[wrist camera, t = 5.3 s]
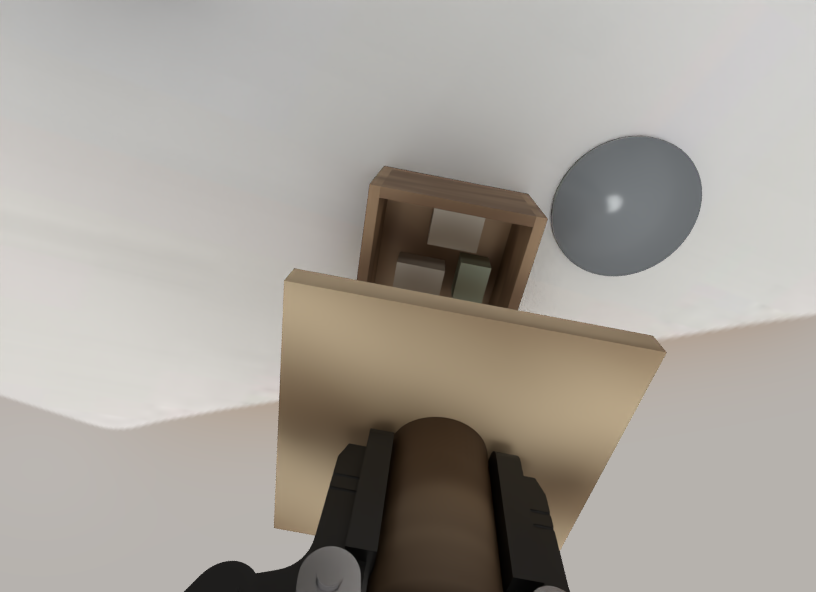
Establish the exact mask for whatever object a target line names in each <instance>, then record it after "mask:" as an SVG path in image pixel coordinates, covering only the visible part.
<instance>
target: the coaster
mask: <svg viewBox="0 0 816 592" xmlns="http://www.w3.org/2000/svg"><path fill="white" fill-rule="evenodd" d="M701 201H702V186H701V180H700V176H699V173H698V171H697V169H696V167H695V165H694V163H693V162H692V160H691V159H690V158H689V156H688V155H687V154H686V153H684V152H683V151H682V150H681V149H680V148H678V147H677V146H675V145H673V144H671V143H669V142H667V141H664V140H660V139H657V138H653V137H646V136H629V137H622V138H618V139H615V140H611V141H609V142H606V143H604V144H601V145H599V146H598V147H596V148H594V149H592V150H591V151H589V152H588V153H587V154H585V155H584V156H583V157H581V158H580V159H579V160H578V161H577V162H576V163H575V164H574V165H573V166H572V167H571V168H570V169H569V171H568V172H567V173H566V175H565V176H564V178H563V179H562V181H561V183H560V185H559V187H558V189H557V191H556V194H555V197H554V200H553V204H552V212H551V223H552V229H553V233H554V236H555V239H556V241H557V243H558V245H559V247H560V248H561V250H562V251H563V253H564V254H565V255H566V256H567V257H568V258H569V259H570V261H572V262H573V263H574V264H575V265H577V266H578V267H580V268H582V269H584V270H586V271H588V272H591V273H594V274H598V275H604V276H623V275H629V274H634V273H637V272H641V271H644V270H646V269H648V268H650V267H653V266H654V265H656V264H658V263H660V262H661V261H663V260H664V259H666V258H667V257H668V256H670V255H671V254H672V253H673V252H674V251H675V250H676V249H677V248H678V247H679V246H680V245H681V244H682V243H683V242H684V240H685V239H686V238H687V236H688V235H689V234H690V232H691V230H692V228H693V227H694V225H695V222H696V220H697V217H698V215H699V211H700V207H701Z"/></svg>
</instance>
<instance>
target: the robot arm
mask: <svg viewBox="0 0 816 592" xmlns="http://www.w3.org/2000/svg"><path fill="white" fill-rule="evenodd" d="M393 438H394V432H389V431H384V430H378V429H373V428H370V432H369V437H368V441H367V446H361V445H356V444H350V443H349V444H348V445H347V446H346V447H345V449H344V450H343V451H342V452H341V453H340V454H339V455H338V458H337V461H336V465H335V468H334V472H333V476H332V478H331V482H330V485H329V489H328V492H327V496H326V499H325V503H324V506H323V510H322V513H321V517H320V520H319V524H318V527H317V531H316V534H315V538H314V541H313V544H312V546H311V547H310V549H309V551H308V552H307V553H306V555H305V556H304V557H303V558H302V559H300V560H299V561H298V562H296V563H295V564H293V565H291V566H289V567H286V568H283V569H279V570H274V571H268V572H262V573H255V572H254V570H253V569H252V568H250V567H249V566H248V565H246V564H244V563H242V562H238V561H227V562H222V563H219V564H216V565H214V566H212V567H211V568H209V569H208V570H206V571H205V572H204V573H203V574H201V575H200V576H199V577H198V578H197V579H196V580H195V581H194V582H193V583H192V584H191V585H190V586H189V587H188V588H187V589H186V590H185V591H184V592H366V589H367V583H368V580H369V577H370V575H371V574H372V572H373V568H374V564H375V559H376V555H377V549H378V542H379V535H380V529H381V522H382V515H383V508H384V501H385V494H386V487H387V480H388V473H389V466H390V459H391V452H392V445H393ZM488 463H489V472H490V480H491V489H492V498H493V507H494V515H495V524H496V533H497V541H498V550H499V559H500V568H501V576H502V585H503V592H570V590H569V587H568V584H567V580H566V575H565V572H564V568H563V564H562V559H561V555H560V551H559V547H558V543H557V539H556V534H555V531H554V530H553V528H554V526H553V522H552V518H551V516H550V510H549V506H548V502H547V498H546V494H545V493H544V491H543V490H542V488H541V487H540V485H539V483H538V482H537V480H536V479H535V478H533V477H527V476H524V475H523V470H522V465H521V461H520V458H519V456H517V455H512V454H506V453H501V452H496V451H493V452H492V453H491V455H490V458H489V461H488Z"/></svg>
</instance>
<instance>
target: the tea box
mask: <svg viewBox="0 0 816 592" xmlns="http://www.w3.org/2000/svg"><path fill="white" fill-rule="evenodd" d="M547 220H548V219H547V217H546V216H545V215H544V213H543V212H542V211H541V210H540V208H539V207H538V206H537V205H536V203H535V202H534V201H533V199H532V198H531V197H530V196H529V194H525V193H520V192H515V191H510V190H505V189H500V188H494V187H489V186H484V185H479V184H474V183H469V182H464V181H458V180H453V179H448V178H443V177H438V176H433V175H428V174H422V173H417V172H412V171H407V170H402V169H397V168H392V167H386V166H384V167H383V168H382V170H381V171H380V172H379V173H378V174H377V176H376V177H375V178H374V179H373V181H372V182H371V183H370V184H369V192H368V199H367V207H366V214H365V222H364V229H363V237H362V244H361V252H360V259H359V267H358V274H357V280H359V281H364V282H369V283H375V284H380V285H385V286H391V287H396V288H401V289H406V290H412V291H417V292H422V293H428V294H433V295H438V296H444V297H449V298H454V299H460V300H465V301H470V302H476V303H481V304H486V305H492V306H497V307H502V308H508V309H513V310H518V308H519V305H520V302H521V299H522V296H523V293H524V290H525V287H526V284H527V280H528V277H529V274H530V271H531V268H532V265H533V262H534V259H535V256H536V253H537V250H538V247H539V244H540V241H541V238H542V235H543V232H544V229H545V226H546V223H547Z"/></svg>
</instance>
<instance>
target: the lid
mask: <svg viewBox="0 0 816 592" xmlns="http://www.w3.org/2000/svg"><path fill="white" fill-rule="evenodd" d="M665 354H666V351H665V350H664V349H663V347H662V346H661V345H660V344H659V343H658V341H657V340H656V339H655V338H654V336H651V335H646V334H641V333H635V332H630V331H625V330H619V329H614V328H609V327H603V326H598V325H593V324H587V323H582V322H577V321H572V320H566V319H561V318H556V317H550V316H545V315H540V314H534V313H529V312H524V311H518V310H513V309H508V308H502V307H497V306H492V305H486V304H481V303H476V302H470V301H465V300H460V299H454V298H449V297H444V296H438V295H433V294H428V293H422V292H417V291H412V290H406V289H401V288H396V287H391V286H385V285H380V284H375V283H369V282H364V281H359V280H353V279H348V278H343V277H337V276H332V275H327V274H321V273H316V272H311V271H305V270H300V269H295V268H294V269H293V271H292V272H291V273H290V274H289V276H288V277H287V278H286V279H285V280H284V298H283V322H282V346H281V370H280V394H279V418H278V419H279V420H278V443H277V466H276V491H275V493H276V494H275V515H274V528H277V529H283V530H288V531H294V532H299V533H305V534H310V535H315V534H316V531H317V527H318V524H319V520H320V517H321V513H322V510H323V506H324V503H325V499H326V496H327V492H328V489H329V485H330V482H331V478H332V476H333V472H334V468H335V465H336V461H337V458H338V455H339V454H340V453H341V452H342V451H343V450H344V449H345V447H346V446H347V445H348V444H349V443H350V444H356V445H361V446H367V441H368V437H369V432H370V428H373V429H378V430H384V431H389V432H394V438H393V445H392V452H391V459H390V466H389V473H388V480H387V487H386V494H385V501H384V508H383V515H382V522H381V529H380V535H379V542H378V549H377V555H376V559H375V564H374V568H373V572H372V574H371V575H370V577H369V580H368V583H367V589H366V592H503V585H502V576H501V568H500V559H499V550H498V541H497V533H496V524H495V515H494V507H493V498H492V489H491V480H490V472H489V463H488V461H489V458H490V455H491V453H492V452H493V451H496V452H501V453H506V454H512V455H517V456H519V458H520V461H521V465H522V470H523V475H524V476H527V477H533V478H535V479H536V480H537V482H538V483H539V485H540V487H541V488H542V490H543V491H544V493H545V494H546V498H547V502H548V506H549V510H550V516H551V518H552V522H553V526H554V528H553V530H554V531H555V534H556V539H557V543H558V547H559V551H560V550H561V548H562V546H563V544H564V542H565V540H566V538H567V537H568V535H569V533H570V531H571V529H572V527H573V525H574V524H575V522H576V520H577V518H578V516H579V514H580V512H581V510H582V509H583V507H584V505H585V503H586V501H587V499H588V498H589V496H590V494H591V492H592V490H593V488H594V486H595V485H596V483H597V481H598V479H599V477H600V475H601V473H602V472H603V470H604V468H605V466H606V464H607V462H608V460H609V458H610V457H611V455H612V453H613V451H614V449H615V448H616V446H617V444H618V442H619V440H620V438H621V436H622V435H623V433H624V431H625V429H626V427H627V425H628V423H629V422H630V420H631V418H632V416H633V414H634V412H635V410H636V409H637V407H638V405H639V403H640V401H641V399H642V397H643V395H644V394H645V392H646V390H647V388H648V386H649V384H650V382H651V381H652V378H653V377H654V375H655V373H656V371H657V370H658V368H659V366H660V364H661V362H662V360H663V358H664V356H665Z"/></svg>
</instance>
